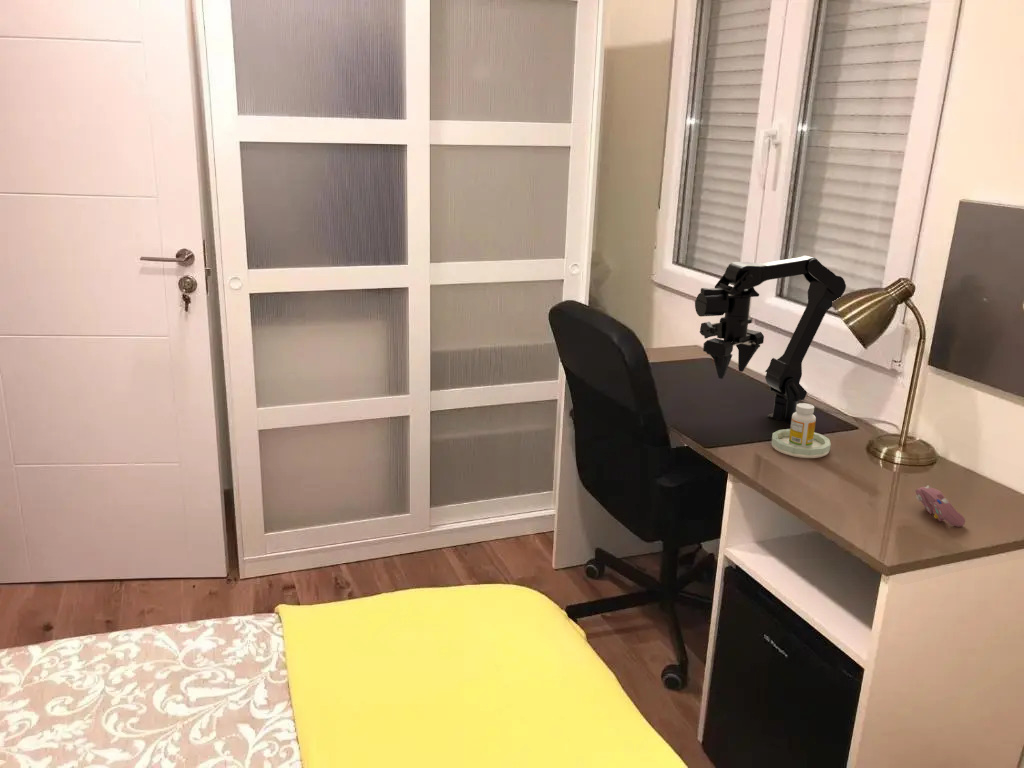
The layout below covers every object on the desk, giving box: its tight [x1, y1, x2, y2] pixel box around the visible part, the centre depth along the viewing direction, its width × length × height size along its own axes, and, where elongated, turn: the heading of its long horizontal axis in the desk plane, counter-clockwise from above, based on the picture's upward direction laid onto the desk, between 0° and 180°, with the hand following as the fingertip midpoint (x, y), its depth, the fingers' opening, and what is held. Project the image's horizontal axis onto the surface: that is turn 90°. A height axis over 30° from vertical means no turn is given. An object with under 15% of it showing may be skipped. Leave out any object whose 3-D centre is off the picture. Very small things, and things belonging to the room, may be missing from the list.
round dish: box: [771, 428, 831, 459], centre depth 196 cm, size 13×13×2 cm
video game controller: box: [915, 484, 966, 528], centre depth 162 cm, size 10×5×7 cm, turn 5°
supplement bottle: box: [789, 402, 817, 448], centre depth 195 cm, size 5×5×10 cm
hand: (730, 374), depth 208 cm, fingers open, 9 cm apart
